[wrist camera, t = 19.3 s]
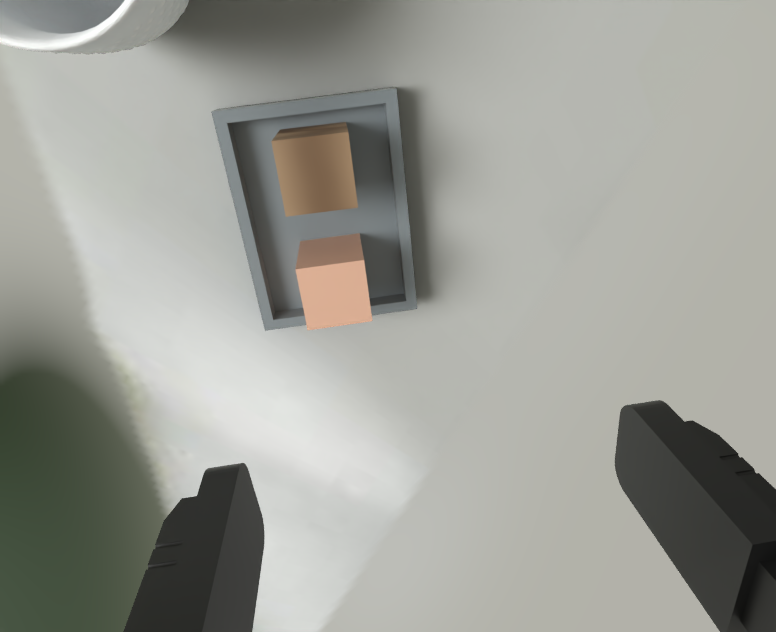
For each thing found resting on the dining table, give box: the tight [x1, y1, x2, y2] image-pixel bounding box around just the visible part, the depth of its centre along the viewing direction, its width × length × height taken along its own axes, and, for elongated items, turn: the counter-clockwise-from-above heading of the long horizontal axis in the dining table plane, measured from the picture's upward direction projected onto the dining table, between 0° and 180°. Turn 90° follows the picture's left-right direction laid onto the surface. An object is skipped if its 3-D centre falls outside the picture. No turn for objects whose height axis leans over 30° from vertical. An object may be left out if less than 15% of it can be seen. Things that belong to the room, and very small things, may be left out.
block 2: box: [295, 233, 372, 330], centre depth 37 cm, size 4×4×6 cm
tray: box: [212, 87, 417, 331], centre depth 38 cm, size 16×12×2 cm
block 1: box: [271, 122, 358, 217], centre depth 34 cm, size 4×4×6 cm
